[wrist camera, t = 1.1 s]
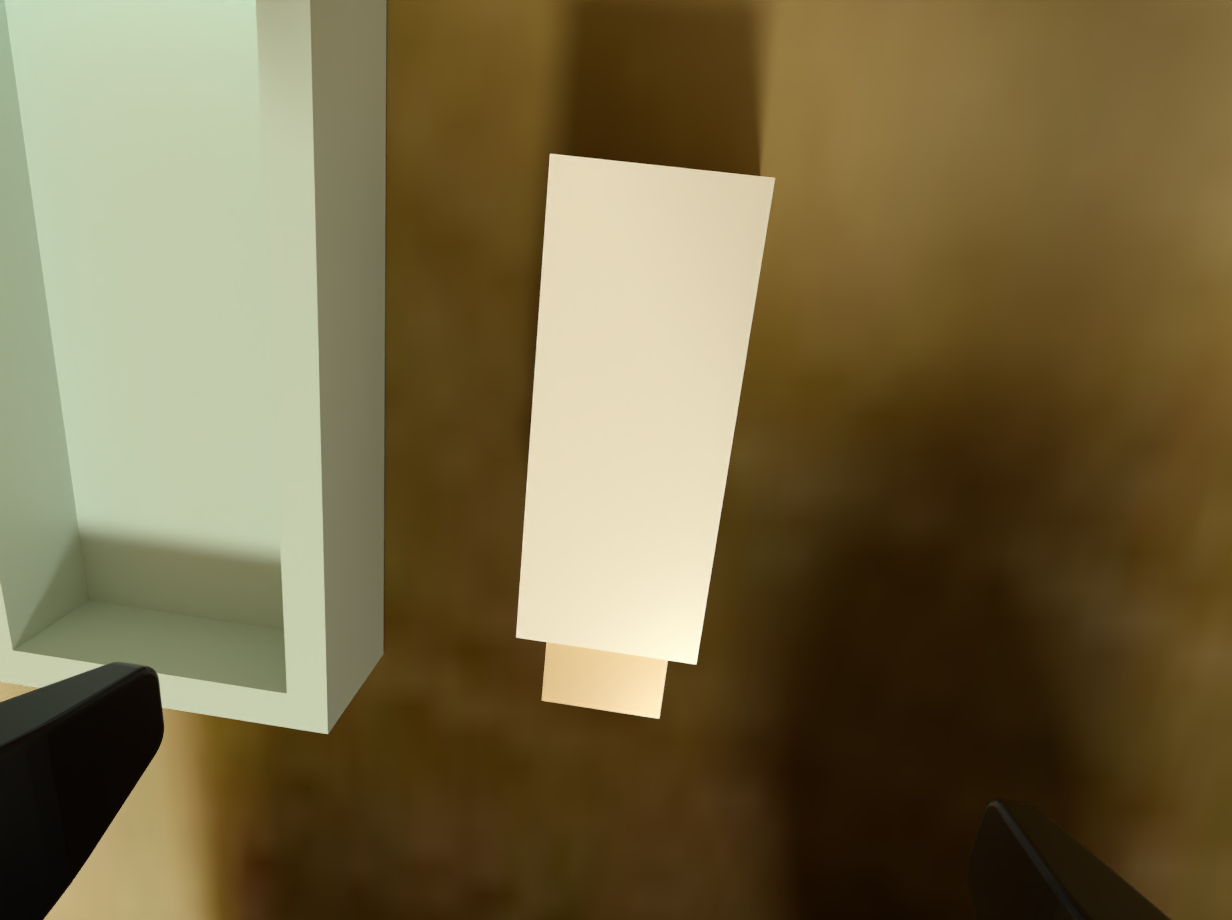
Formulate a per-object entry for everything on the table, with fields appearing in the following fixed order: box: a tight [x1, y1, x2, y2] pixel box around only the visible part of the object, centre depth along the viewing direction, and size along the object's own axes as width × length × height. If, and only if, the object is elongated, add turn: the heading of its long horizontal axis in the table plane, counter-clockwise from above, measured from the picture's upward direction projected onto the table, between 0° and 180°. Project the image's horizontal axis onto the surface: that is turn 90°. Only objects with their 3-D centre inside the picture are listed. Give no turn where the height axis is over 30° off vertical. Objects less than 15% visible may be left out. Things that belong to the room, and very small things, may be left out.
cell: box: [516, 154, 775, 719], centre depth 18 cm, size 4×12×4 cm, turn 174°
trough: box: [0, 0, 387, 734], centre depth 18 cm, size 9×17×4 cm, turn 174°
